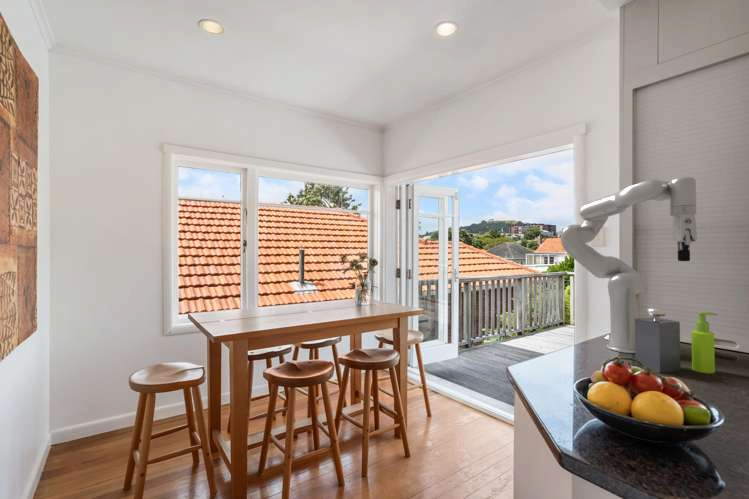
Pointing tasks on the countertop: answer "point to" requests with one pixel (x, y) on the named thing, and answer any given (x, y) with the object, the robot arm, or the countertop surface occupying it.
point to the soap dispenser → (703, 346)
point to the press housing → (658, 344)
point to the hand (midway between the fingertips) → (683, 260)
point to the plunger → (656, 313)
